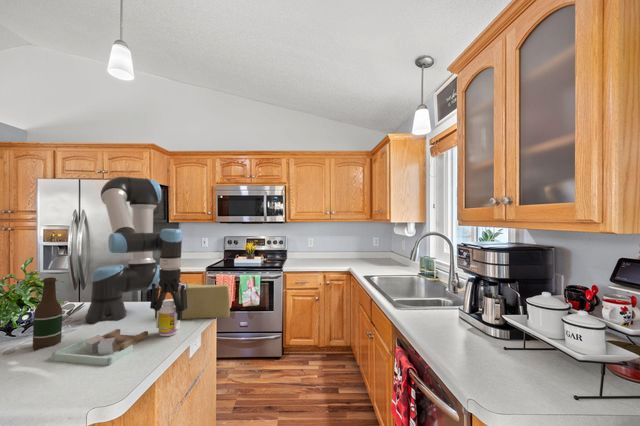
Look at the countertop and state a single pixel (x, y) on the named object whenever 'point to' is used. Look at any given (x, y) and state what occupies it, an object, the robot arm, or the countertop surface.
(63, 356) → the tray
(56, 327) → the beer bottle
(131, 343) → the slot board
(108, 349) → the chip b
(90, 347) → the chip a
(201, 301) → the tan rectangular block
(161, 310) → the supplement bottle
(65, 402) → the countertop surface
